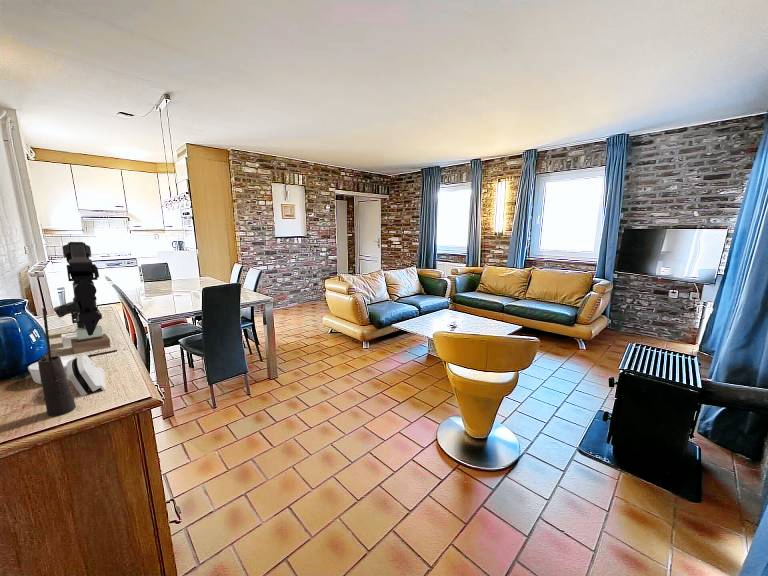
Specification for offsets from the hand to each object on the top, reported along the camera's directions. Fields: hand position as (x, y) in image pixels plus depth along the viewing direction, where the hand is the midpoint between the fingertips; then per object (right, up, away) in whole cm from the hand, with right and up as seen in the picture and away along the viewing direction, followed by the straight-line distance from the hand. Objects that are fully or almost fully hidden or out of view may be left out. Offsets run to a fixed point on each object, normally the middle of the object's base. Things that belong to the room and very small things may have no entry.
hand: (89, 334), depth 118 cm
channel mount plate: (0, -7, +1) cm, 7 cm away
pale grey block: (0, -4, +1) cm, 4 cm away
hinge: (+23, -12, -24) cm, 36 cm away
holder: (-10, -6, +6) cm, 13 cm away
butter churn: (+29, -14, -38) cm, 50 cm away
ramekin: (+10, -11, -21) cm, 26 cm away
